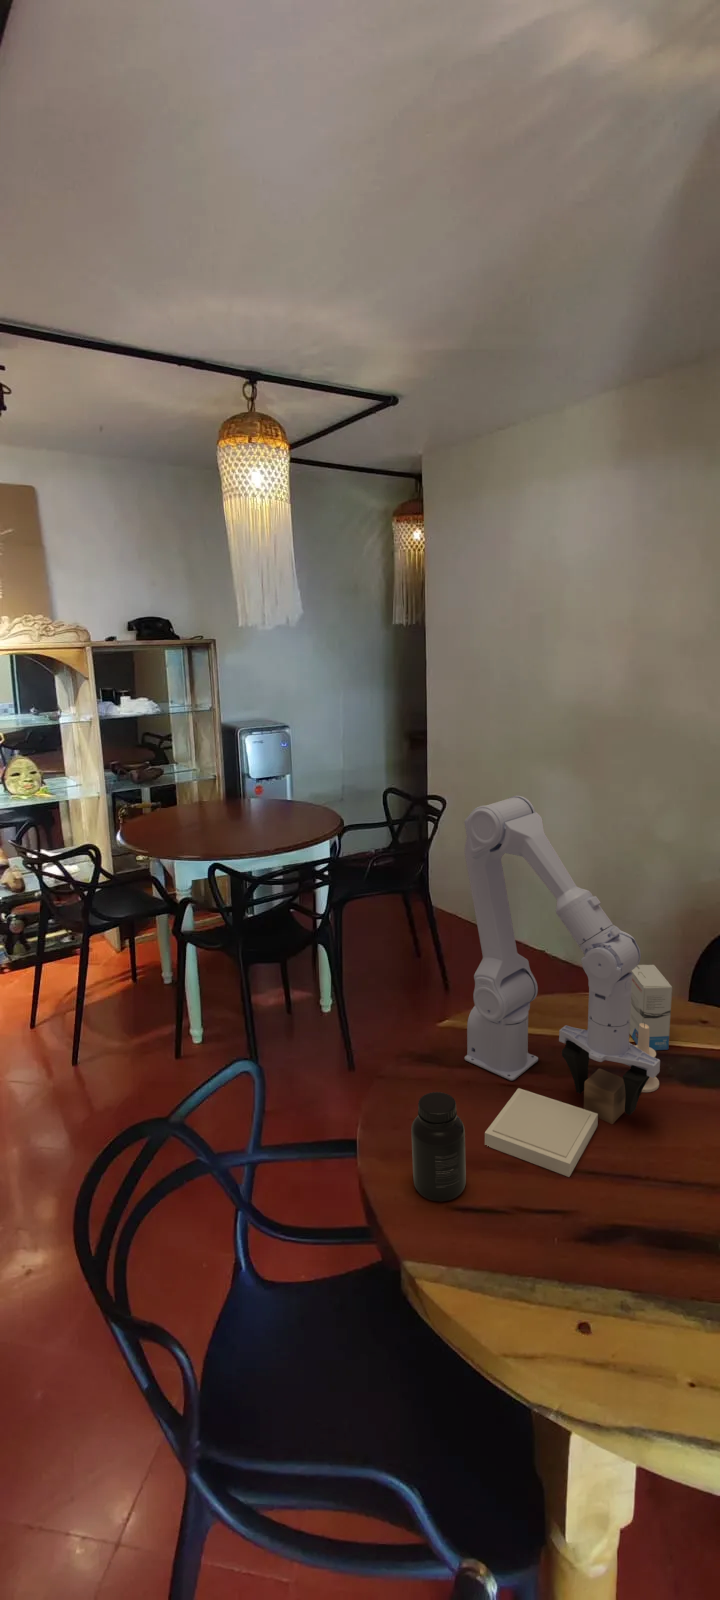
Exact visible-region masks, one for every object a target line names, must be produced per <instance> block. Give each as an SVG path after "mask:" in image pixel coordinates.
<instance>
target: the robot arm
mask: <svg viewBox="0 0 720 1600" xmlns="http://www.w3.org/2000/svg"><path fill="white" fill-rule="evenodd" d="M463 823H464V824H463V825H464V828H465V834H466V835H465V836H466V839H465V844H464V857H465V858H464V859H465V864H466V867H467V868H466V870H467V874H468V875H467V876H468V880H469V885H470V891H471V898H472V902H473V903H472V904H473V907H474V915H475V920H476V926H477V931H478V937H479V943H480V947H481V953H482V959H481V961H480V963H479V965H478V967H477V969H476V971H474V972H475V973H474V974H473V979H474V990H473V995H472V996H473V998H472V999H473V1003H474V1006H473V1008H472V1009H470V1010H471V1011H470V1013H469V1016H468V1017H467V1025H466V1028H467V1029H466V1035H467V1037H466V1040H467V1041H466V1042H467V1044H466V1047H467V1049H466V1050H467V1051H466V1052H467V1054H466V1055H465V1056H464V1060H465V1061H467V1062H469V1063H471V1064H474V1065H476V1066H477V1067H480V1068H482V1069H484V1070H486V1071H488V1072H491V1073H493V1074H495V1075H498V1076H499V1077H502V1078H503V1079H507V1080H508V1081H511V1082H512V1081H515V1080H516V1079H517V1078H519V1076H521V1075H522V1074H523V1073H525V1072H526V1071H528V1070H529V1068H531V1067H532V1066H533V1065H535V1064H536V1063H538V1061H539V1057H538V1056H536V1055H534V1054H531V1053H529V1051H528V1050H529V1046H528V1045H529V1043H528V1042H529V1011H530V1009H531V1003H532V1002H533V1001H534V1000H535V999H536V998H537V995H538V992H539V989H538V988H539V987H538V983H537V980H536V978H535V976H534V974H533V972H532V971H531V968H530V963H529V960H528V959H527V958H525V956H523V955H521V954H519V953H518V949H517V944H516V938H515V931H514V926H513V921H512V914H511V908H510V904H509V896H508V893H507V885H506V880H505V874H504V870H503V861H502V857H503V856H504V855H505V854H508V855H513V856H517V857H518V856H519V857H522V858H524V860H525V861H526V862H527V863H528V865H529V866H530V867H531V869H532V870H533V871H534V873H535V874H536V875H537V876H538V877H539V879H540V880H541V882H542V883H543V884H544V885H545V886H546V888H547V889H548V890H549V892H550V893H551V894H552V895H553V897H554V898H555V899H556V907H555V914H556V915H557V916H558V918H559V919H560V921H561V922H562V924H563V925H564V927H565V928H566V929H567V931H568V932H569V934H570V935H571V937H572V938H573V940H574V941H575V943H576V945H577V946H578V947H579V949H580V950H581V952H582V953H583V954H584V956H583V957H581V959H580V960H581V965H582V969H583V971H584V972H585V974H586V976H587V979H588V980H587V981H588V1007H587V1009H588V1011H587V1013H588V1014H587V1029H584V1028H583V1029H582V1028H577V1027H574V1026H569V1025H567V1024H566V1025H564V1026H563V1027H561V1028H560V1029H559V1031H558V1032H559V1033H558V1034H559V1037H558V1042H560V1043H563V1044H565V1047H564V1048H562V1049H561V1057H562V1058H563V1060H564V1061H565V1063H566V1064H567V1066H568V1069H569V1071H570V1074H571V1076H572V1080H573V1083H574V1087H575V1092H576V1093H577V1094H579V1095H581V1094H582V1093H584V1084H585V1081H586V1080H587V1079H588V1078H589V1063H590V1059H591V1060H593V1061H596V1062H599V1063H603V1062H604V1061H609V1062H614V1063H619V1064H623V1065H626V1066H629V1067H630V1069H628V1070H627V1071H626V1072H625V1073H624V1074H623V1075H622V1078H623V1080H624V1085H625V1094H626V1097H625V1112H624V1114H625V1115H628V1116H631V1115H632V1114H633V1113H635V1111H636V1108H637V1106H638V1102H639V1098H640V1096H641V1094H642V1092H641V1091H642V1089H643V1087H644V1086H645V1084H646V1082H647V1080H648V1079H649V1077H652V1078H654V1077H657V1076H658V1075H659V1073H660V1071H661V1070H660V1069H661V1067H660V1066H661V1060H660V1059H659V1058H656V1057H652V1056H650V1055H648V1054H647V1053H645V1052H644V1051H642V1050H640V1049H639V1048H637V1047H636V1046H634V1045H635V1044H632V1043H631V1042H630V1033H629V1032H630V1013H631V993H632V973H631V972H630V971H632V970H633V969H634V968H635V967H636V966H637V965H640V961H641V957H642V956H641V955H642V954H641V949H640V947H639V945H638V943H637V941H636V939H635V938H634V936H632V935H631V934H629V933H628V932H625V931H623V930H621V929H620V928H619V926H616V925H614V923H613V921H611V919H610V918H609V916H608V915H607V913H606V912H605V911H604V910H603V908H602V906H601V905H600V904H602V902H601V901H600V900H599V898H598V896H597V895H593V893H592V892H591V890H588V889H584V888H582V887H579V886H577V884H576V883H575V881H574V880H573V878H572V876H571V874H570V873H569V871H568V869H567V868H566V866H565V864H564V863H563V861H562V860H561V858H560V856H559V854H558V853H557V851H556V850H555V848H554V847H553V845H552V844H551V841H550V840H549V838H548V837H547V835H546V833H545V830H544V824H543V823H544V822H543V818H542V816H541V815H540V814H539V813H538V812H536V809H535V807H534V805H533V804H532V802H531V801H530V800H529V799H528V798H526V797H525V796H522V795H521V796H520V795H513V796H510V797H508V798H506V799H503V800H500V801H495V802H493V803H490V804H487V805H479V806H478V807H475V808H474V809H473V810H471V812H470V814H469V815H468V816H467V817H465V819H464V822H463ZM629 972H630V973H629Z"/></svg>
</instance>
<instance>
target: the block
mask: <svg viewBox="0 0 720 1600" xmlns="http://www.w3.org/2000/svg"><path fill="white" fill-rule="evenodd" d="M625 1097H626V1094H625V1085H624V1080H623V1076H619V1075H617V1074H615V1073H612V1072H610V1071H608V1070H604V1069H602V1068H598V1069H597V1070H595V1071H594V1072H593V1073H592V1074H591V1075H590V1076H588V1079H587V1080H586V1081H585V1084H584V1091H583V1109H585V1110H588V1111H591V1112H594V1113H597V1114H598V1120H602V1121H604V1122H607V1123H609V1124H611V1125H613V1124H615V1122H616V1121H617V1120H618V1119H619V1118H620V1117H621V1116H622V1115H623V1114H625Z"/></svg>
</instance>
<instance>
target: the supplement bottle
mask: <svg viewBox="0 0 720 1600" xmlns="http://www.w3.org/2000/svg"><path fill="white" fill-rule="evenodd" d="M456 1102H457V1101H456V1100H455V1098H454V1097H453V1096H451V1095H450V1094H448V1093H445V1092H441V1091H436V1092H435V1091H434V1092H433V1091H432V1092H429V1093H425V1094H424V1095H423V1096H421V1097H420V1098H419V1100H418V1105H417V1106H418V1107H417V1108H418V1109H417V1116H416V1117H415V1118H414V1119H413V1122H412V1123H411V1128H410V1129H411V1131H410V1133H411V1150H412V1151H411V1153H412V1154H411V1157H412V1176H413V1185H414V1188H415V1190H416V1191H417V1192H418V1194H420V1195H421V1196H422V1197H424V1198H425V1199H426V1200H427V1199H428V1200H430V1201H434V1202H447V1201H451V1200H453V1199H456V1198H457V1197H459V1196H460V1195H461V1194H462V1192H463V1191H464V1190H465V1188H466V1187H465V1186H466V1184H467V1183H466V1181H467V1178H466V1177H467V1171H466V1170H467V1169H466V1137H465V1136H466V1132H465V1131H466V1130H465V1126H464V1125H465V1124H464V1123H463V1120H462V1119H461V1118H460V1117H459V1116H458V1114H457V1113H458V1112H457V1103H456Z"/></svg>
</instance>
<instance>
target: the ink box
mask: <svg viewBox="0 0 720 1600" xmlns="http://www.w3.org/2000/svg"><path fill="white" fill-rule="evenodd" d="M630 972H631V973H632V993H631V1013H630V1032H629V1036H631V1038H632V1040H633V1041H634V1043H635V1044H636V1045H638V1033H639V1024H640V1023H643V1024H644V1022H645V1024H646V1025H648V1026H649V1047H650V1048H652V1049H654V1050H655V1051H663V1050H664V1051H665V1050H669V1048H670V1047H669V1046H670V1044H669V1043H670V1030H671V1029H670V1028H671V1013H672V1012H671V1011H672V1009H671V1008H672V997H673V995H672V994H673V986H672V985H671V984H670V982H669V981H668V979H666V977H665V976H664V975H663V973H662V972H661V971H660V970H659V968H657V967H656V965H655V964H638V965H637V966H636V967H635V968H634V969H633V970H632V971H630ZM630 972H629V973H630Z"/></svg>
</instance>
